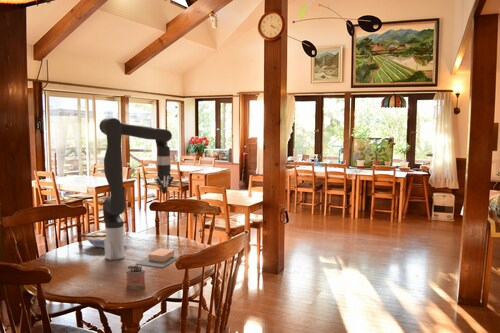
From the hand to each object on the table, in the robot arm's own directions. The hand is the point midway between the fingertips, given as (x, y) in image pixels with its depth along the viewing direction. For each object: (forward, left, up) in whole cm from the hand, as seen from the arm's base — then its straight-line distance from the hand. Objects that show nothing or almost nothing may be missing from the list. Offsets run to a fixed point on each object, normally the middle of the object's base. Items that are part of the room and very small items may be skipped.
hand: (164, 193), depth 236 cm
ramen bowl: (-22, +27, -32) cm, 48 cm away
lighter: (-47, -38, -32) cm, 68 cm away
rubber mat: (-19, -18, -32) cm, 41 cm away
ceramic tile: (-11, -14, -30) cm, 35 cm away
